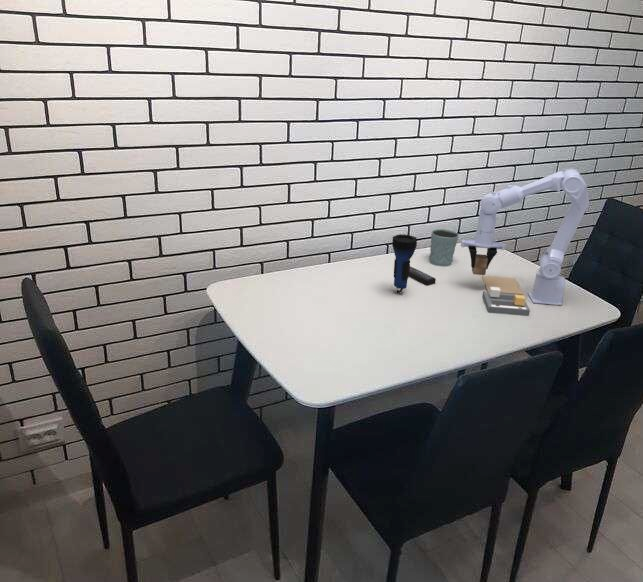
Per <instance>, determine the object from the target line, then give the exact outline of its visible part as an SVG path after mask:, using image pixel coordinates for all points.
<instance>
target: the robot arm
mask: <svg viewBox="0 0 643 582" xmlns="http://www.w3.org/2000/svg"><path fill="white" fill-rule="evenodd" d="M548 190H553V191H557V192H561V190H562V191H563V193H564V194H566V195H567V196H568V197H569V200H570V202H571V203H570V205H569V206H568V209H567V211H566V213H565V215H564V217H563V220H562V221H561V222H560V223H561V224H560V226H559V228H558V230H557V231H556V233H555V236H554V237H553V240H552V241H551V244H550V246H548V247H547V249H546V250H545V252H544V253H543V254H542V255H541V256H540V257H539V259H538V263H539V266H540V267H539V268H538V270H536V273H535V278H534V282H533V288H532V291H529V292H527V294H528V297H529V299H530V300H531V301H532V303H533V304H542V305H555V306H556V305H557V306H562V300H563V298H564V294H565V289H566V278H565V277H564V276H563V275H560V274H561V273H562V267H561V266H562V264H563V262H564V257H565V253H566V251H567V249H568V247H569V245H570V243H571V241H572V239H573V237H574V235H575V232H576V230H577V229H578V227H579V225H580V223H581V221H582V218H583V216H584V215H585V213H586V211H587V209H588V207H589V205H590V200H589V199H590V198H589V193H588V186H587V183H586V182H585V180H584V178H583V177H582V175H581V173H580V172H579V171H578V170H577V169H575V168H567V169H565V170H563V171H562V170H561V171H557V172H555V173H552V174H549V175H547V176H544V177H543V178H540V179H538V180H535V181H532V182H530V183H528V184H525V185H522V186H518V185H517V184H516V185H512V184H510V185H507V188H504V189H501V190H499V191H497V190H494V191H493V192H492V193H487V194H485V195H484V196H482V198H481V200H480V211H479V215H478V219H477V226H476V232H475V237H474V238H475V239H461V242H460V247H461V248H465V247H467V248H468V251H469V256H470V267H471V269H472V268H474V265H475V257H476V254H477V252H478V251H477V248H480V249H486V256H487V258H488V262H487V267H486V270H488V268H489V266H490V264H491V263H492V260H493V259H494V257H495V256H497V254H498V250H501V251H505V250H506V245H507V244H506V243H505V242H501V241H499V242H498V241H494V236H495V235H494V234H495V230H496V225H497V224H496V223H497V213H498V212H499V210H500V209H501V210H502V209H505V208H508V207H511V206H513V205H516V204H519V203H521V202H523V200H524V198H525V197H527V196H531V195H534V194H537V193H540V192H543V191H548Z"/></svg>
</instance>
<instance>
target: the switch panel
mask: <svg viewBox="0 0 643 582" xmlns="http://www.w3.org/2000/svg"><path fill="white" fill-rule="evenodd" d="M514 295H519V294H507V293H500V296H499V297H490V295H489V292H487V291H482V300H483V303H484V306H485V309H486V312H487V313H494V314H504V315H513V316H515V315H516V316H527V317H529V316H530V312H531V309H530V307H529V305H528V304H527V302H526V300H525V304H524V306H521V305H514V302H513V300H514Z"/></svg>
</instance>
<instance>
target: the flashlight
mask: <svg viewBox="0 0 643 582" xmlns="http://www.w3.org/2000/svg"><path fill="white" fill-rule="evenodd" d="M417 244H418V238H417V237H416V236H414V235H410V234H406V233H405V234H404V233H403V234H395V235H393V237H392V249H393V252H394V256H395V259H394V261H393V263H394V264H393V286H394V287H395V288H396V289H397V290H396V293H397V294H401V293H402V292H403V291H404V290H405V289H406V288H407V286H408V279H409V278H410V277H409V276H408V275H409V269H410V267H409V266H411V264H410V263H411V259H412V257H413V256H414V253H415V251H416V248H417V247H418V246H417ZM398 289H399V290H398Z"/></svg>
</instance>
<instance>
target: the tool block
mask: <svg viewBox="0 0 643 582" xmlns="http://www.w3.org/2000/svg"><path fill="white" fill-rule="evenodd" d="M487 262H488V258H487V254H480V253H478V254H477V253H476V257H475V265H474V268H472V267H471V271H472V274H473V275H475V276H477V275H478V276H486V272H487V269H486V267H487Z"/></svg>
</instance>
